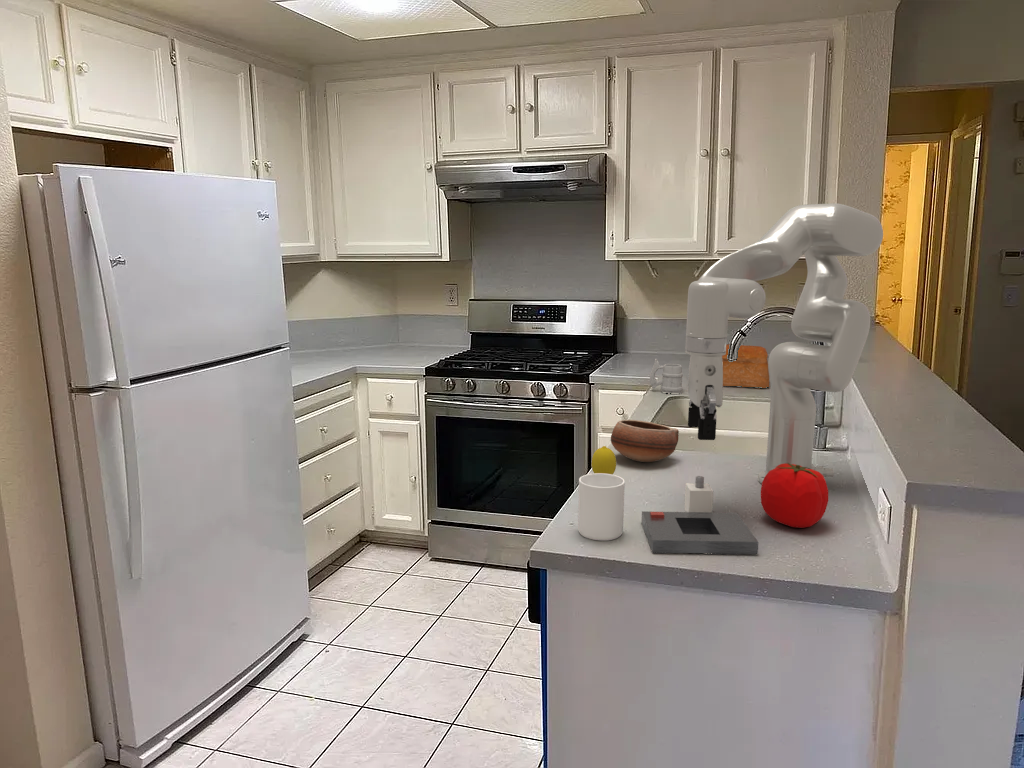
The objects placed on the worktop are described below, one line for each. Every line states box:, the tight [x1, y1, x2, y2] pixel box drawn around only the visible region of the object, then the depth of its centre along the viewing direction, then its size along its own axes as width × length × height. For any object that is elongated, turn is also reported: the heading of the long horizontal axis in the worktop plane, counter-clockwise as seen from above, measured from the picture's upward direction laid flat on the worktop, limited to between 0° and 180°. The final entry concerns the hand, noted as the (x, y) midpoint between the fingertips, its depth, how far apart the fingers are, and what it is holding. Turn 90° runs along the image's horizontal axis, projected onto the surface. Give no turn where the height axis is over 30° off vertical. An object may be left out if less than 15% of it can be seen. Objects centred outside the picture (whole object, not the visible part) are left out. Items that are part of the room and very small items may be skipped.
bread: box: [722, 343, 770, 388], centre depth 282 cm, size 14×27×15 cm, turn 71°
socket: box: [641, 511, 759, 555], centre depth 136 cm, size 18×14×3 cm
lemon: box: [590, 445, 617, 475], centre depth 169 cm, size 6×6×8 cm
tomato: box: [760, 462, 829, 529], centre depth 144 cm, size 12×13×12 cm
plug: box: [683, 475, 714, 512], centre depth 148 cm, size 4×4×8 cm
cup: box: [577, 472, 626, 542], centre depth 140 cm, size 8×12×10 cm
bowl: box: [610, 419, 680, 463], centre depth 184 cm, size 16×16×10 cm
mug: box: [649, 358, 684, 394], centre depth 267 cm, size 8×12×12 cm, turn 78°
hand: (701, 433), depth 146 cm, fingers open, 9 cm apart
